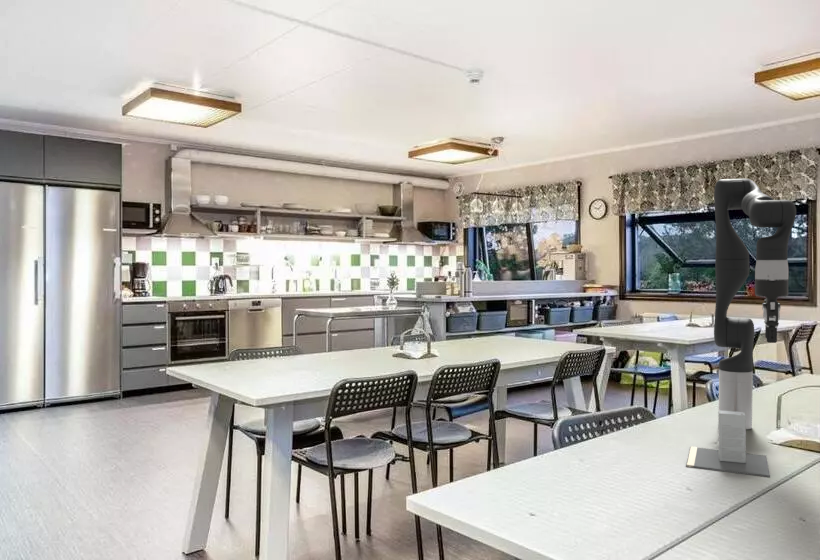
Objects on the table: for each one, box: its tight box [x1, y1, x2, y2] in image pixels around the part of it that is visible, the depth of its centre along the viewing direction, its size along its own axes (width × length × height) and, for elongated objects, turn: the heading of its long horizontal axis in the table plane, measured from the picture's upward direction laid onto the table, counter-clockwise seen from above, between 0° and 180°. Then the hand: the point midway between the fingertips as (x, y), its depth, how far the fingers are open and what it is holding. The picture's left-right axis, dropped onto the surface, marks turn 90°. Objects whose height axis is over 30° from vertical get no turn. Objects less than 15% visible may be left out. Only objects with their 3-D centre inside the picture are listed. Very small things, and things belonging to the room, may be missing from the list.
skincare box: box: [717, 409, 747, 463], centre depth 163 cm, size 6×4×12 cm
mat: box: [685, 446, 771, 478], centre depth 163 cm, size 18×18×1 cm
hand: (770, 340), depth 168 cm, fingers open, 8 cm apart
